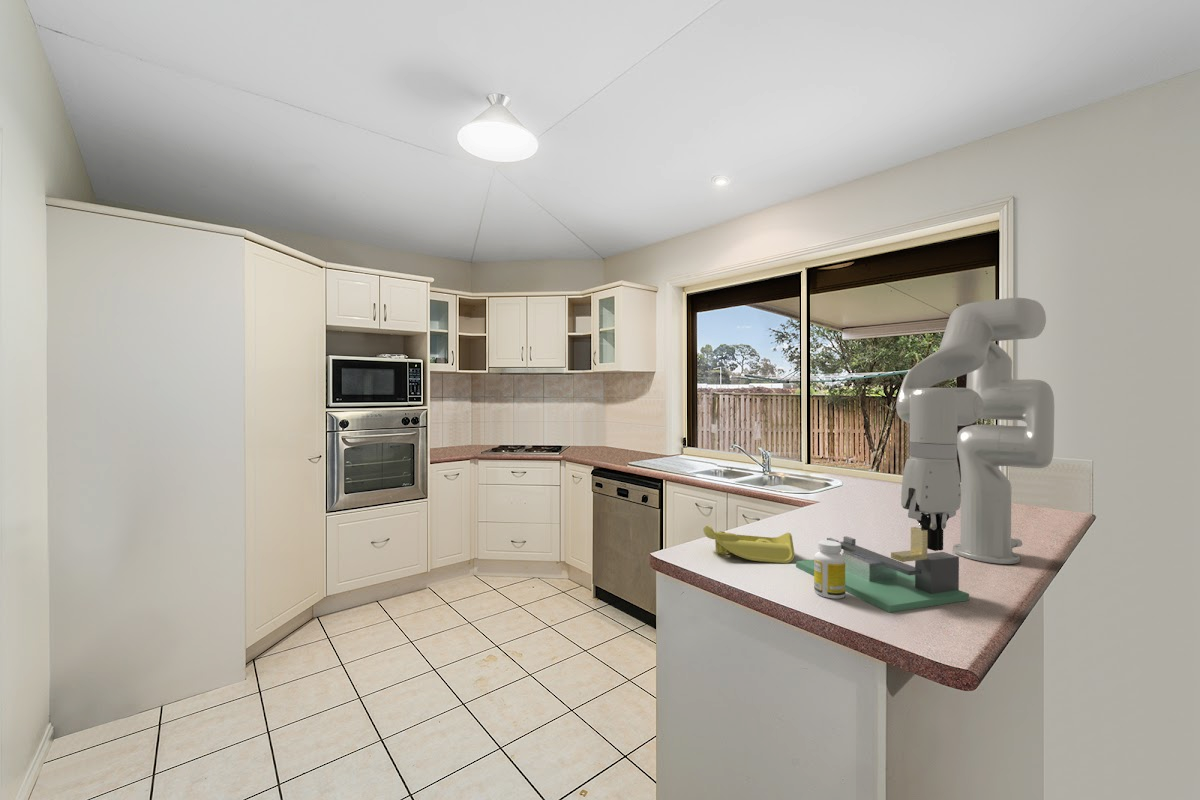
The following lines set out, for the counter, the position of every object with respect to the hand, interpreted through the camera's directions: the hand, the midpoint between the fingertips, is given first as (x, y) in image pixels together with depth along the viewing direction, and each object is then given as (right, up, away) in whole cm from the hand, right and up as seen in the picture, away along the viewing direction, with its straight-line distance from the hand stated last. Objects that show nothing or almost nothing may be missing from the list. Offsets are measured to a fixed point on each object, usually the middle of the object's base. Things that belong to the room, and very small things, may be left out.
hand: (931, 548), depth 91 cm
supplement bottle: (-19, -9, +1) cm, 21 cm away
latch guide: (+1, -8, 0) cm, 8 cm away
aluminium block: (-7, -8, +8) cm, 14 cm away
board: (-7, -9, +7) cm, 13 cm away
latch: (-5, -1, -2) cm, 6 cm away
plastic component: (-28, -9, +24) cm, 38 cm away
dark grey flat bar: (-7, -4, +7) cm, 11 cm away
